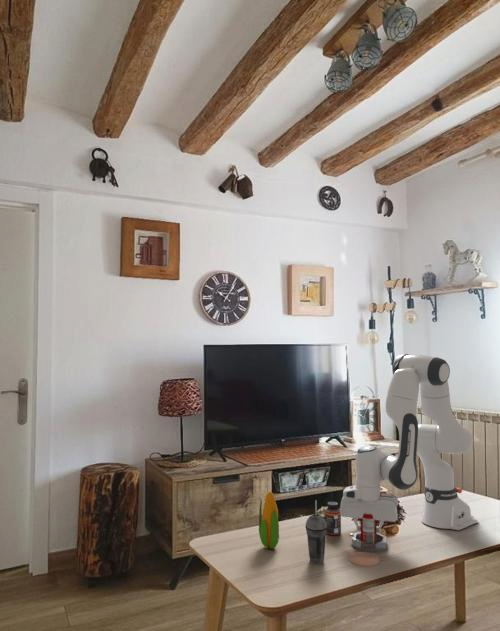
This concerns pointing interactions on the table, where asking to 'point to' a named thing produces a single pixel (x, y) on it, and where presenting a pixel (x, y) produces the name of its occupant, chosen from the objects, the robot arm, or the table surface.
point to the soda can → (368, 528)
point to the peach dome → (364, 559)
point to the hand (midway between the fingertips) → (368, 531)
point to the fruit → (322, 511)
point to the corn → (269, 522)
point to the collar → (369, 546)
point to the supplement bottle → (333, 519)
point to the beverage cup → (316, 537)
